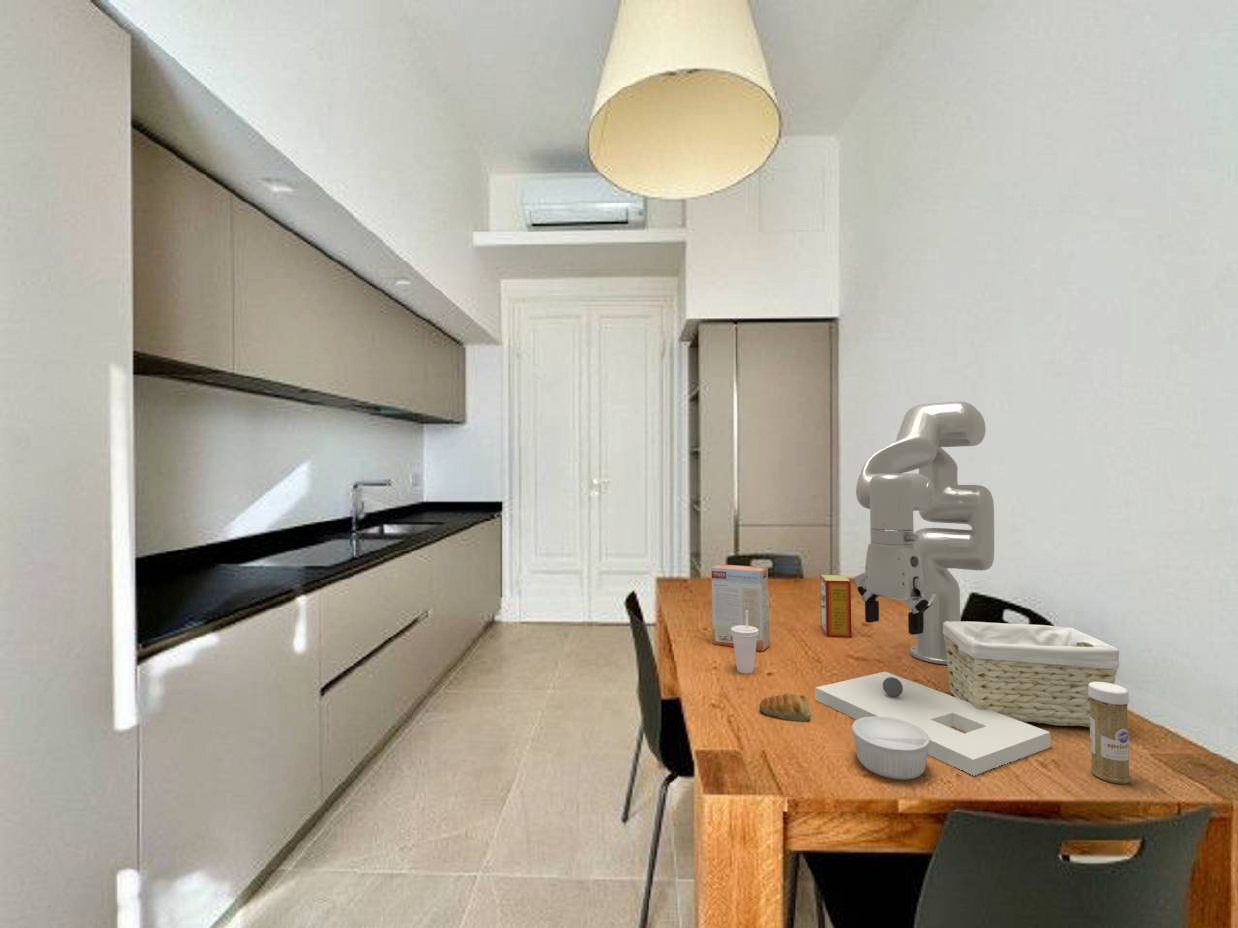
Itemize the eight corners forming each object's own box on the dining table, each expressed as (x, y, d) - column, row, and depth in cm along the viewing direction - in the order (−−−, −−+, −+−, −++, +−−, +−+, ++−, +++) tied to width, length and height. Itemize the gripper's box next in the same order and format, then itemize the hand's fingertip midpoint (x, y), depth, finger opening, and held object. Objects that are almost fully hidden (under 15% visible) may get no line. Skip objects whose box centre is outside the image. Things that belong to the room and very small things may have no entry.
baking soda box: (821, 627, 166) (820, 573, 166) (844, 628, 164) (843, 573, 165) (826, 637, 156) (825, 579, 157) (851, 638, 155) (850, 579, 155)
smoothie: (760, 676, 127) (759, 614, 127) (731, 674, 128) (730, 612, 128) (758, 666, 133) (757, 607, 133) (731, 665, 134) (730, 606, 135)
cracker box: (770, 646, 149) (769, 566, 149) (763, 652, 144) (761, 570, 144) (720, 638, 156) (719, 563, 157) (711, 644, 151) (710, 566, 151)
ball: (891, 691, 111) (890, 673, 111) (907, 697, 108) (906, 679, 108) (878, 694, 110) (878, 676, 110) (894, 700, 106) (894, 682, 106)
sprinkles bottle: (1120, 787, 81) (1117, 693, 81) (1083, 772, 85) (1081, 683, 85) (1137, 780, 83) (1134, 688, 83) (1100, 765, 87) (1098, 678, 87)
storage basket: (1072, 698, 112) (1069, 623, 113) (1127, 735, 96) (1124, 648, 97) (940, 690, 117) (939, 619, 117) (973, 724, 101) (971, 642, 102)
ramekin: (894, 791, 81) (894, 754, 81) (836, 756, 91) (835, 723, 91) (948, 774, 85) (947, 739, 86) (886, 742, 96) (886, 711, 96)
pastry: (760, 719, 105) (760, 699, 105) (758, 705, 112) (758, 686, 112) (813, 723, 103) (812, 702, 104) (808, 708, 110) (807, 688, 110)
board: (815, 699, 113) (815, 687, 114) (885, 682, 122) (885, 671, 122) (973, 776, 85) (973, 759, 85) (1050, 747, 93) (1050, 732, 93)
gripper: (947, 541, 102) (948, 636, 102) (868, 533, 118) (869, 615, 118) (919, 543, 99) (920, 641, 99) (842, 535, 115) (843, 619, 114)
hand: (893, 627), depth 108 cm, fingers open, 9 cm apart
